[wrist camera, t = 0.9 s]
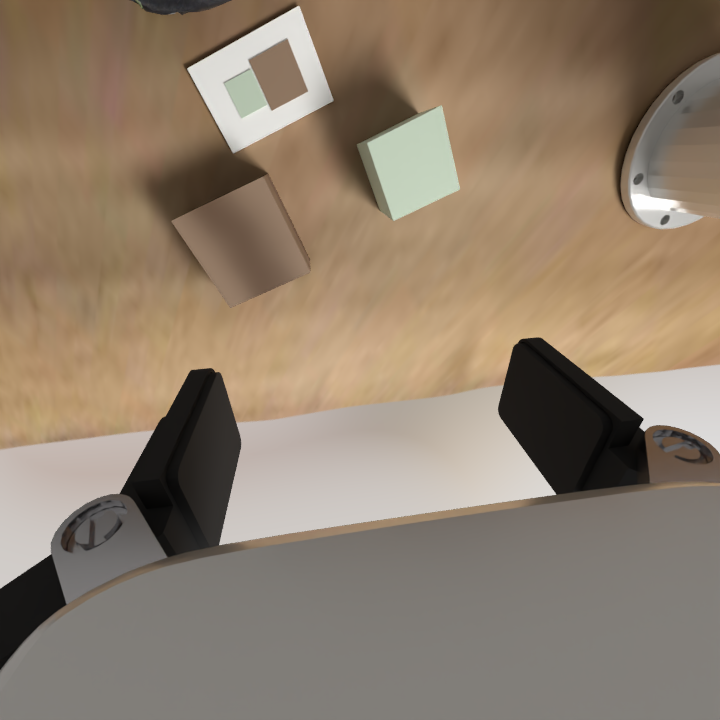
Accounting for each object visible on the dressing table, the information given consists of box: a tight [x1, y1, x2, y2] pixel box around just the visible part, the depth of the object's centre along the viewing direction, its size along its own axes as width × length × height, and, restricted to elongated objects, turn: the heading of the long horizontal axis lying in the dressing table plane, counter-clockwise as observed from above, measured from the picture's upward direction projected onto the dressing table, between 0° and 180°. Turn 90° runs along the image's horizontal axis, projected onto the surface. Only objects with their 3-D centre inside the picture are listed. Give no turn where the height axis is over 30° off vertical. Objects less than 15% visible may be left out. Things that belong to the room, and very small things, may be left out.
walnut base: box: [171, 174, 310, 308], centre depth 26 cm, size 7×7×4 cm
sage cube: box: [357, 105, 460, 221], centre depth 24 cm, size 5×5×5 cm
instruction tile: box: [187, 6, 334, 153], centre depth 22 cm, size 8×5×1 cm, turn 113°
